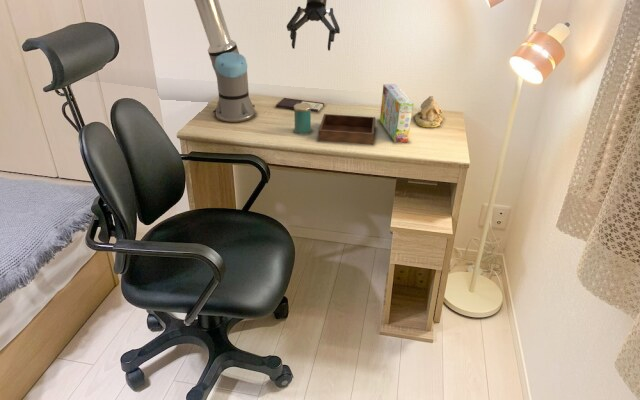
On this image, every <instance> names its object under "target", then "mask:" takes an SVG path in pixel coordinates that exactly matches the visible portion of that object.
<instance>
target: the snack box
mask: <svg viewBox="0 0 640 400" xmlns="http://www.w3.org/2000/svg"><path fill="white" fill-rule="evenodd" d="M380 105H381V106H380V115H379V122H380V123H381V124H382V126H383V127H384V129H385V130H386V132H387V134H388V135H389V136H390V138H391V139H392V141H393V142H394V143H408V142H409V135H410V129H411V122H412V117H413V116H412V115H413V109H414V102H413V101H412V100H411V99H410V98H409V97H408V96H407V95H406V93H405V92H404V91H403V90H402V89H401V88H400V87H399V86H398V85H397V84H396V83H387V84H386V83H385V84H384V83H383V85H382V95H381V104H380Z"/></svg>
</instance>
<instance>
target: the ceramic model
mask: <svg viewBox="0 0 640 400" xmlns="http://www.w3.org/2000/svg"><path fill="white" fill-rule="evenodd" d="M442 114H443V109H442V108H441V107H440V106H439V105H438V104H437V102H436V100H435V97H434V96H432V95H429V96H428V97H427V98H426V99H425V100H423V102H422V103H421V104H420V111H417V112H416V114H415V115H414V120H415V122H416V124H417V126H419V127H421V128H437V127H439V126H440V125H441V122H442V121H443V120H444V116H442Z"/></svg>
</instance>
